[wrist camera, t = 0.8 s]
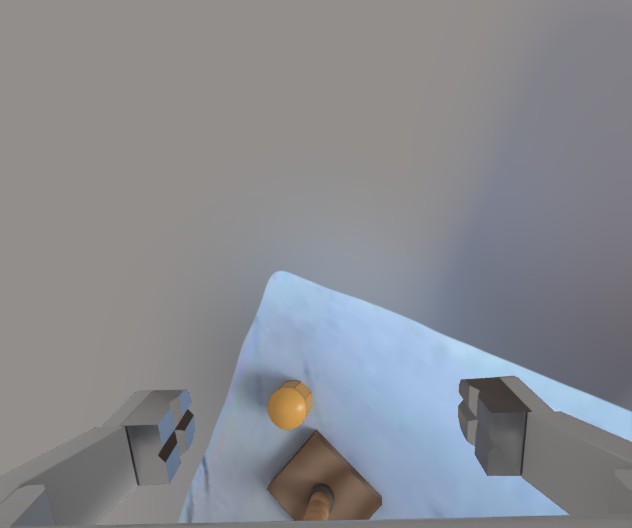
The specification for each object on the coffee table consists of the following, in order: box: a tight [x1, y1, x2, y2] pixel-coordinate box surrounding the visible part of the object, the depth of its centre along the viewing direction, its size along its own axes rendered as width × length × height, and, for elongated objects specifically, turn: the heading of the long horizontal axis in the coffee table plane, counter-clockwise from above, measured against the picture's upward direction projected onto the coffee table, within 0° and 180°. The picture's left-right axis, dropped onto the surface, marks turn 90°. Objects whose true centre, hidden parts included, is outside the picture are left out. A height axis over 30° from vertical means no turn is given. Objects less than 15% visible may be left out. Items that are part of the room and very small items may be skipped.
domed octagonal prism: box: [268, 381, 312, 430], centre depth 52 cm, size 6×6×5 cm
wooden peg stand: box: [267, 430, 382, 521], centre depth 47 cm, size 14×12×9 cm
